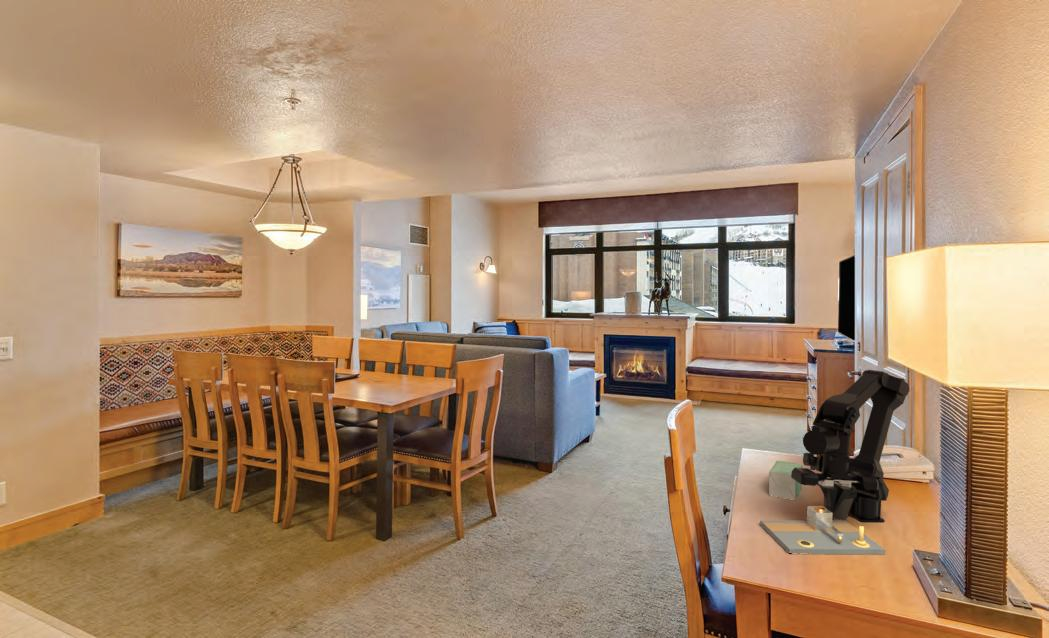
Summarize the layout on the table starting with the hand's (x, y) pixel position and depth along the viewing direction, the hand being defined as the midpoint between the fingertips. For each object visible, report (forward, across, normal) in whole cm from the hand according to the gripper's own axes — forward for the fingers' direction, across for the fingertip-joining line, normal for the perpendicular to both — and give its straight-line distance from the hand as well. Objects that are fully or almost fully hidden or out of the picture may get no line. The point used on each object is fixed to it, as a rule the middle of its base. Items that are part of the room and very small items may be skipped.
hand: (831, 512), depth 132 cm
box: (+4, -2, -27) cm, 27 cm away
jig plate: (+5, +5, +4) cm, 8 cm away
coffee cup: (+5, -7, -10) cm, 13 cm away
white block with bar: (+4, +3, +4) cm, 6 cm away
